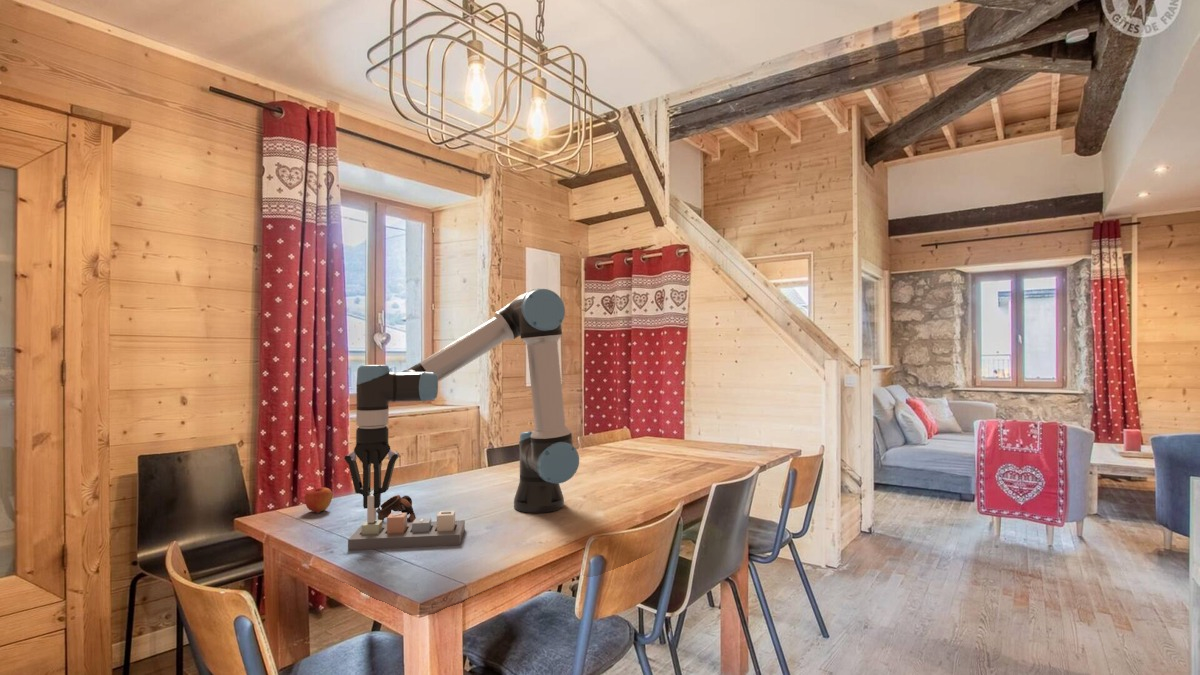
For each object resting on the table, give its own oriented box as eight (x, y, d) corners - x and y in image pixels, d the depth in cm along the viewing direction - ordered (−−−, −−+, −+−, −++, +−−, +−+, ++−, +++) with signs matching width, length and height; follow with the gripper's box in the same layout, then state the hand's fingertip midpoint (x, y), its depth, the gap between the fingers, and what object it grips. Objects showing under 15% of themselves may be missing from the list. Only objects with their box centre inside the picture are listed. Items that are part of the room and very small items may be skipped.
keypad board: (464, 529, 152) (464, 520, 152) (459, 544, 140) (459, 534, 140) (362, 534, 149) (362, 524, 149) (347, 550, 137) (348, 539, 137)
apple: (337, 508, 173) (337, 482, 173) (321, 515, 166) (321, 487, 166) (315, 507, 174) (315, 481, 174) (298, 514, 167) (298, 487, 167)
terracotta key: (407, 528, 146) (407, 511, 146) (403, 533, 142) (403, 516, 142) (390, 529, 146) (390, 512, 146) (386, 534, 142) (386, 516, 142)
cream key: (455, 526, 148) (455, 509, 148) (453, 531, 144) (453, 514, 144) (439, 527, 147) (439, 510, 147) (436, 531, 143) (436, 514, 143)
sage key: (382, 535, 145) (382, 519, 146) (378, 541, 141) (378, 523, 142) (366, 536, 145) (366, 519, 145) (361, 541, 141) (361, 524, 141)
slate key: (431, 533, 147) (431, 517, 147) (428, 538, 143) (428, 522, 143) (415, 534, 146) (415, 518, 147) (412, 539, 142) (412, 522, 143)
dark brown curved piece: (411, 529, 155) (395, 504, 153) (383, 542, 156) (366, 518, 155) (427, 505, 166) (412, 482, 165) (400, 518, 168) (384, 496, 166)
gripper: (402, 424, 148) (402, 515, 148) (349, 424, 147) (349, 517, 146) (396, 427, 141) (395, 524, 140) (340, 428, 139) (339, 526, 139)
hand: (371, 521), depth 143 cm, fingers closed
